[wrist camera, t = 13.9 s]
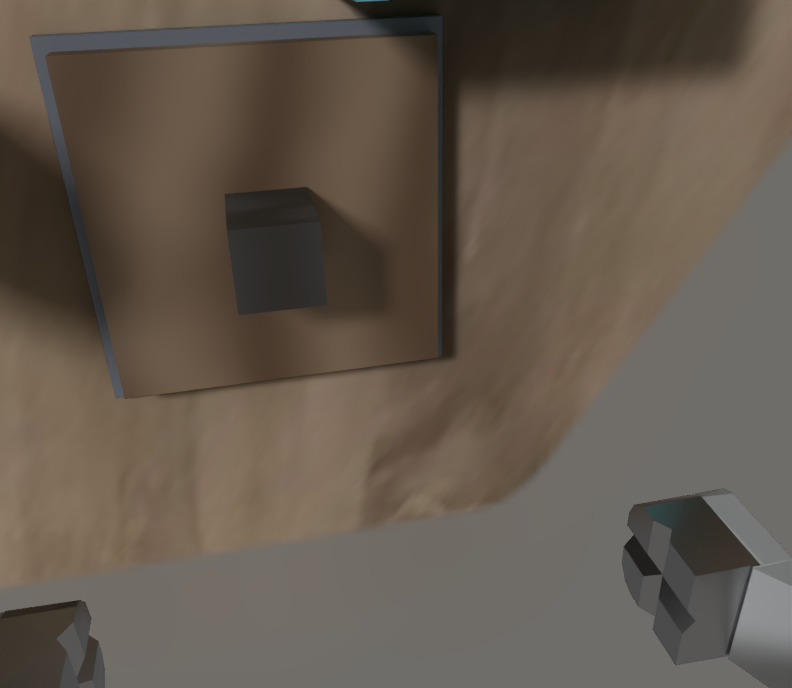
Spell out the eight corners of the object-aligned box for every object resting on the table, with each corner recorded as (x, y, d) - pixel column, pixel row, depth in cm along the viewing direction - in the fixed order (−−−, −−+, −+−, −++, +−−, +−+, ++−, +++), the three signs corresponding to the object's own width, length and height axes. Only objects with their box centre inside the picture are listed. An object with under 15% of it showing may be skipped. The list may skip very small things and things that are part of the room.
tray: (438, 14, 28) (442, 16, 27) (438, 349, 34) (441, 355, 34) (32, 35, 25) (29, 37, 25) (117, 390, 32) (115, 398, 32)
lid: (430, 31, 27) (471, 49, 23) (432, 347, 34) (464, 407, 29) (50, 51, 25) (17, 75, 21) (127, 386, 31) (113, 457, 27)
